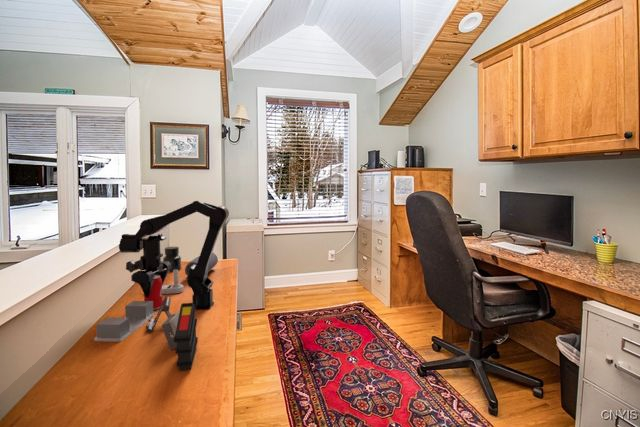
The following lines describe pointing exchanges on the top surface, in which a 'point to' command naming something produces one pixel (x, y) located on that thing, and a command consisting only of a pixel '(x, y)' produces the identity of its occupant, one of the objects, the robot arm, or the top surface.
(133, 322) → the rail
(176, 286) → the electronic device
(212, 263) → the bluetooth speaker
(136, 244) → the robot arm
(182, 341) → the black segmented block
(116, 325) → the mounted modules
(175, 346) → the electrical switch
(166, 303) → the portable electronic device stand
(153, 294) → the beverage can
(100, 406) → the top surface
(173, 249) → the ink bottle
